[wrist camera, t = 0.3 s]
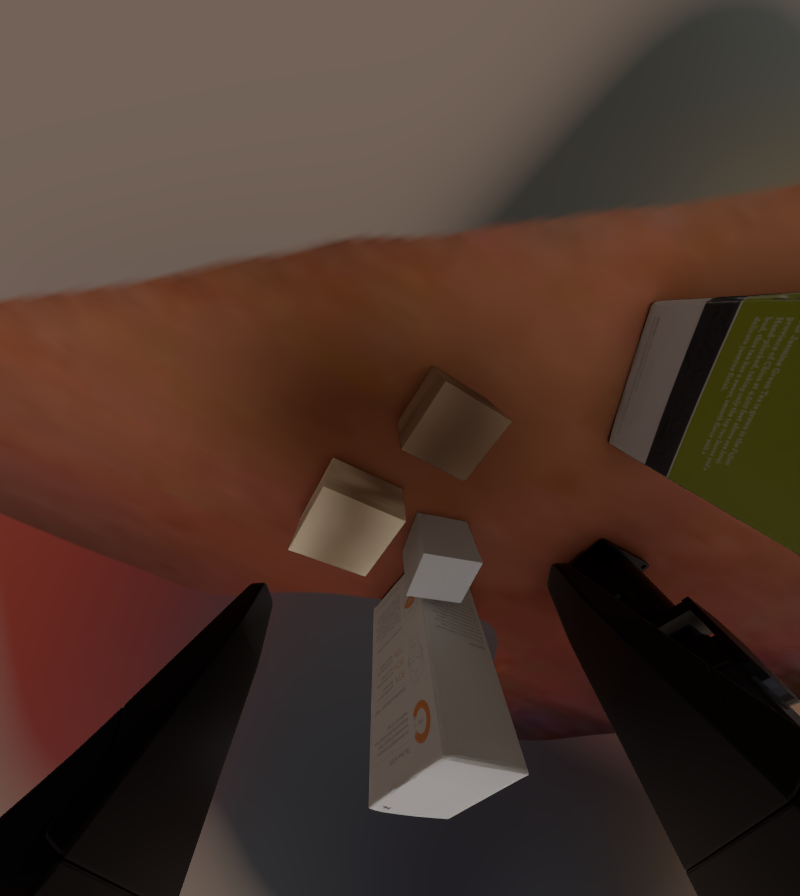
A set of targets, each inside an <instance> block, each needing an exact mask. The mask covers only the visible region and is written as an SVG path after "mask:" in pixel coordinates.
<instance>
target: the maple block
mask: <svg viewBox="0 0 800 896" xmlns="http://www.w3.org/2000/svg"><path fill="white" fill-rule="evenodd" d="M405 522H406V517H405V507H404V498H403V489H401V488H399V487H397V486H394V485H392V484H390V483H388V482H386V481H384V480H381V479H379V478H377V477H375V476H373V475H370V474H368V473H366V472H364V471H362V470H360V469H357V468H355V467H353V466H351V465H349V464H346V463H344V462H342V461H340V460H338V459H336V458H332V460H331V462H330V464H329V466H328V468H327V469H326V471H325V473H324V475H323V477H322V479H321V481H320V482H319V484H318V486H317V488H316V490H315V492H314V493H313V495H312V497H311V499H310V501H309V503H308V505H307V506H306V508H305V510H304V512H303V514H302V516H301V519H300V521H299V524H298V526H297V529H296V531H295V534H294V536H293V539H292V542H291V544H290V547H289V549H288V550H290V551H293V552H296V553H299V554H302V555H305V556H307V557H310V558H313V559H316V560H319V561H322V562H325V563H328V564H330V565H333V566H336V567H339V568H342V569H345V570H348V571H350V572H353V573H356V574H359V575H362V576H366V575H367V574H368V572H369V571H370V570H371V568H372V567H373V565H374V564H375V563H376V561H377V560H378V559H379V557H380V556H381V555H382V553H383V552H384V551H385V549H386V548H387V547H388V545H389V544H390V542H391V541H392V540H393V538H394V537H395V536H396V534H397V533H398V532H399V530H400V529H401V528H402V526H403V525H404V523H405Z"/></svg>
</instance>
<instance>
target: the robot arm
mask: <svg viewBox="0 0 800 896" xmlns="http://www.w3.org/2000/svg"><path fill="white" fill-rule="evenodd" d="M648 566H649V564H648V563H647V562H646V561H645V560H643V559H641V558H639V557H637V556H635V555H633V554H631V553H630V552H628V551H626V550H624V549H622V548H620V547H618V546H616V545H614V544H612V543H611V542H609V541H607V540H601V541H600V542H598V543H597V544H596V545H595V546H594V547H593V548H591V549H590V550H589V551H588V552H587V553H586V554H585V555H583V556H582V557H581V558H580V559H579V560H578V561H577V562H576V563H574V564H573V565H572V566H570V565H568V564H566V563H556V564H553V565H552V566H551V569H550V573H549V577H548V581H547V585H548V589H549V592H550V594H551V597H552V600H553V602H554V605H555V607H556V610H557V612H558V615H559V617H560V620H561V622H562V625H563V627H564V630H565V632H566V635H567V637H568V639H569V642H570V644H571V646H572V648H573V650H574V652H575V654H576V656H577V658H578V660H579V662H580V664H581V666H582V668H583V670H584V672H585V674H586V676H587V678H588V680H589V682H590V684H591V685H592V687H593V689H594V691H595V693H596V695H597V697H598V699H599V701H600V703H601V705H602V707H603V709H604V711H605V713H606V715H607V717H608V719H609V721H610V723H611V725H612V727H613V729H614V731H615V733H616V735H617V737H618V739H619V741H620V743H621V745H622V747H623V749H624V751H625V753H626V754H627V757H628V759H629V760H630V762H631V764H632V766H633V768H634V770H635V772H636V774H637V776H638V778H639V780H640V782H641V784H642V786H643V788H644V790H645V792H646V794H647V796H648V798H649V800H650V802H651V804H652V806H653V808H654V810H655V812H656V814H657V816H658V818H659V820H660V822H661V823H662V826H663V828H664V830H665V831H666V834H667V835H668V837H669V839H670V841H671V843H672V845H673V847H674V849H675V851H676V853H677V855H678V857H679V859H680V861H681V863H682V865H683V867H684V869H685V870H687V871H686V873H687V875H688V877H689V879H690V881H691V883H692V885H693V887H694V889H695V891H696V893H697V895H698V896H800V716H799V715H798V714H797V713H796V712H795V711H794V710H793V709H792V708H791V707H790V706H792V705H795V704H797V703H800V701H799V699H798V698H797V697H796V696H795V695H794V694H793V693H792V692H791V691H790V690H789V689H788V688H787V687H786V686H785V685H784V684H783V683H782V682H781V681H780V680H779V679H778V678H777V677H776V676H775V675H774V674H773V673H772V672H771V671H770V670H769V669H768V668H767V667H766V666H765V665H764V664H763V663H762V662H761V661H760V660H759V658H758V657H757V656H756V655H755V654H754V653H753V652H752V651H751V650H750V649H749V648H748V647H747V646H746V645H744V644H743V643H742V642H741V641H740V640H739V639H738V638H737V637H736V636H735V635H733V634H732V633H731V632H730V631H729V630H728V629H727V628H726V627H725V626H724V625H722V624H721V623H720V622H719V621H718V620H717V619H716V618H715V617H713V616H712V615H711V614H710V613H708V612H707V611H706V610H704V609H703V608H702V607H701V606H699V605H698V604H697V603H695V602H694V601H693V600H692V599H690V598H689V597H686V598H685V599H683V600H681V601H682V602H681V603H679V604H678V605H676V606H675V605H674V604H673V603H672V602H671V601H670V600H669V599H668V598H667V597H666V596H665V595H664V594H663V593H662V592H661V591H660V590H659V589H658V588H657V587H656V586H655V585H654V584H653V583H652V582H651V581H650V580H649V579H648V578H647V577H646V576H645V575H644V574H643V573H642V572H643V571H644V570H646V569H647V568H648ZM271 610H272V598H271V595H270V592H269V590H268V587H267V584H266V583H253V584H251V585H249V586H248V587H247V588H246V589H245V590H244V591H243V592H242V593H241V594H240V595H239V596H238V597H237V598H236V599H235V600H234V601H232V602H231V603H230V604H229V605H228V606H227V607H226V608H225V609H224V610H223V611H222V612H221V613H220V614H219V615H218V616H217V617H216V618H215V619H214V620H213V621H212V622H211V623H210V624H208V626H206V628H204V629H203V630H202V631H201V632H200V633H199V634H198V635H197V636H196V637H195V638H194V639H193V640H192V641H191V642H190V643H189V644H188V645H187V646H185V647H184V648H183V649H182V650H181V651H180V652H179V653H178V654H177V655H176V656H175V657H174V658H173V659H172V660H171V661H170V662H169V663H168V664H167V665H166V666H165V667H164V668H163V669H162V670H160V671H159V672H158V673H157V674H156V675H155V676H154V677H153V678H152V679H151V680H150V681H149V682H148V683H147V684H146V685H145V686H144V687H143V688H142V689H141V690H140V691H139V692H137V693H136V694H135V695H134V696H133V697H132V698H131V699H130V700H129V701H128V702H127V703H126V704H125V706H124V708H121V709H120V710H118V711H117V712H116V713H115V714H114V715H113V716H112V717H111V718H110V719H109V720H108V721H107V722H106V723H105V724H104V725H103V726H102V727H101V728H100V729H99V730H97V731H96V732H95V733H94V734H93V735H92V736H91V737H90V738H89V739H88V740H87V741H86V742H85V743H84V744H83V745H81V746H80V747H79V748H78V749H77V750H76V751H75V752H74V753H73V754H72V755H71V756H69V757H68V758H67V759H66V760H65V761H64V762H63V763H62V764H60V765H59V766H58V767H57V768H56V769H55V770H54V771H53V772H52V773H51V774H49V775H48V776H47V777H46V778H45V779H44V780H42V781H41V782H40V783H39V784H38V785H37V786H36V787H34V788H33V789H32V790H31V791H30V792H29V793H28V794H27V795H25V796H24V797H23V798H22V799H21V800H20V801H18V802H17V803H16V804H15V805H14V806H13V807H12V808H10V809H9V810H8V811H7V812H6V813H5V814H3V815H2V816H1V817H0V896H179V894H180V891H181V888H182V886H183V883H184V880H185V877H186V874H187V871H188V868H189V865H190V862H191V859H192V856H193V853H194V851H195V847H196V845H197V842H198V839H199V836H200V833H201V830H202V827H203V824H204V821H205V818H206V815H207V813H208V809H209V807H210V803H211V801H212V798H213V795H214V792H215V789H216V786H217V783H218V780H219V777H220V774H221V772H222V769H223V766H224V763H225V760H226V757H227V754H228V751H229V748H230V745H231V742H232V739H233V736H234V734H235V731H236V728H237V725H238V722H239V719H240V716H241V713H242V710H243V707H244V704H245V701H246V698H247V696H248V693H249V689H250V686H251V684H252V681H253V678H254V675H255V672H256V669H257V666H258V663H259V659H260V655H261V651H262V647H263V643H264V639H265V634H266V630H267V626H268V622H269V618H270V614H271ZM711 633H713V634H714V635H715V636H713V637H710V636H709V634H711Z"/></svg>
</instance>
